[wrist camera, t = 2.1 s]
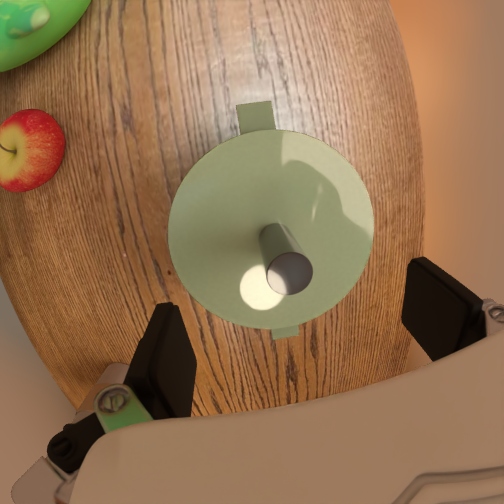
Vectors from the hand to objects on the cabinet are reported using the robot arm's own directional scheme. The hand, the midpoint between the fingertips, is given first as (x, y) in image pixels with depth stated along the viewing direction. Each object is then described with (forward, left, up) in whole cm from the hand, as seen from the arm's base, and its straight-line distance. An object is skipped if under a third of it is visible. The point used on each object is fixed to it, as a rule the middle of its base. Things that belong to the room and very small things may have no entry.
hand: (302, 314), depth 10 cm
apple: (+22, -12, -19) cm, 31 cm away
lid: (0, 0, -10) cm, 10 cm away
